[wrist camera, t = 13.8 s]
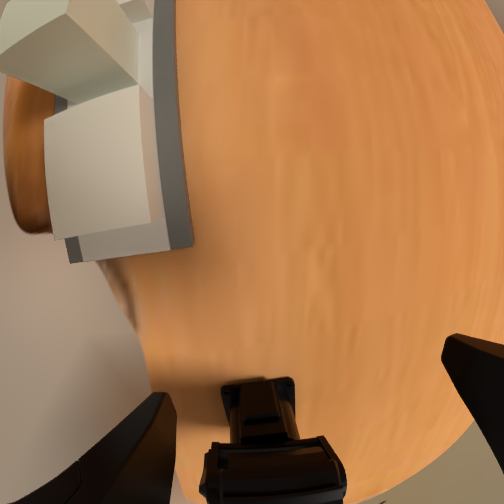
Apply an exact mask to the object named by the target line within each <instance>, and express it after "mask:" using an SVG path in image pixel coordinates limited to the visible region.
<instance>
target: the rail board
mask: <svg viewBox="0 0 504 504" xmlns="http://www.w3.org/2000/svg"><path fill="white" fill-rule="evenodd" d="M116 1H117V2H118V4H119V5H120V7H121V8H122V10H123V11H124V13H125V14H126V16H127V17H128V19H129V20H130V22H131V23H132V25H133V26H134V28H135V29H136V31H137V33H138V34H139V84H138V85H135V86H131V87H127V88H124V89H121V90H118V91H114V92H111V93H108V94H105V95H102V96H99V97H96V98H94V99H91V100H88V101H86V102H83V103H80V104H76V103H74V102H71V101H69V100H67V99H65V98H62V97H60V96H58V95H56V94H55V108H54V115H53V116H51V117H49V118H47V119H45V120H44V157H45V174H46V186H47V195H48V203H49V211H50V217H51V224H52V229H53V235H54V240H60V239H65V242H66V248H67V252H68V256H69V261H70V263H78V262H88V261H95V260H103V259H110V258H117V257H124V256H132V255H139V254H146V253H154V252H161V251H169V250H172V249H180V248H187V247H193V245H194V244H195V240H194V233H193V226H192V219H191V212H190V205H189V197H188V189H187V181H186V173H185V164H184V154H183V144H182V134H181V122H180V110H179V96H178V79H177V58H176V0H116Z"/></svg>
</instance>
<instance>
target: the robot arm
mask: <svg viewBox="0 0 504 504" xmlns="http://www.w3.org/2000/svg"><path fill="white" fill-rule="evenodd" d="M441 361H442V363H443V365H444V367H445V369H446V371H447V372H448V374H449V376H450V378H451V380H452V382H453V384H454V386H455V388H456V390H457V392H458V393H459V395H460V397H461V398H462V400H463V401H464V403H465V405H466V406H467V408H468V409H469V411H470V413H471V414H472V416H473V418H474V419H475V421H476V423H477V424H478V426H479V428H480V430H481V431H482V433H483V435H484V437H485V438H486V440H487V442H488V444H489V446H490V447H491V449H492V451H493V453H494V455H495V457H496V459H497V461H498V463H499V465H500V467H501V469H502V471H503V474H504V345H503V344H498V343H494V342H490V341H486V340H482V339H478V338H474V337H470V336H466V335H462V334H458V333H455V334H452V335H450V336H448V337H447V338H446V340H445V344H444V348H443V351H442V355H441ZM287 383H290V384H287ZM225 391H228V392H225ZM221 396H222V400H223V404H224V408H225V411H226V415H227V419H228V422H229V426H230V443H219V442H212V446H211V449H209V452H208V453H205V457H204V469H203V474H202V477H201V481H200V485H199V493H200V494H201V495H203V496H204V497H205V498H206V500H207V503H208V504H343V498H344V496H345V494H346V489H347V479H346V473H345V469H344V467H343V464H342V463H341V461H340V459H339V458H338V456H337V455H336V453H335V452H334V450H333V449H332V447H331V446H330V444H329V443H328V441H327V440H326V438H325V437H324V436H317V437H316V438H309V439H301V440H300V436H299V433H298V429H297V425H296V421H295V384H294V381H293V379H292V378H285V379H279V380H272V381H265V382H257V383H249V384H240V385H229V386H223V387H222V388H221ZM176 423H177V414H176V410H175V408H174V405H173V403H172V400H171V398H170V395H169V394H168V393H167V392H153V393H152V394H151V395H150V396H149V397H148V398H146V399H145V400H144V401H143V402H142V403H141V404H140V405H139V406H138V407H137V408H136V409H134V410H133V411H132V412H131V413H130V414H129V415H128V416H127V417H126V418H125V419H123V420H122V421H121V422H120V423H119V424H118V425H117V426H116V427H115V428H113V429H112V430H111V431H110V432H109V433H108V434H107V435H106V436H105V437H103V438H102V439H101V440H100V441H99V442H98V443H97V444H95V445H94V446H93V447H92V448H91V449H90V450H88V451H87V452H86V453H85V454H84V455H83V456H81V457H80V458H79V459H78V461H75V462H74V463H73V464H72V465H71V466H70V467H68V468H67V469H66V470H64V471H63V472H62V473H61V474H59V475H58V476H57V477H55V478H54V479H53V480H51V481H49V482H48V483H46V484H45V485H43V486H42V487H40V488H38V489H37V490H35V491H34V492H32V493H30V494H28V495H26V496H25V497H23V498H21V499H19V500H18V501H15V502H13V503H9V504H169V503H170V495H171V488H172V481H173V473H174V467H175V458H176Z"/></svg>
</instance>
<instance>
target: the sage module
mask: <svg viewBox="0 0 504 504" xmlns="http://www.w3.org/2000/svg"><path fill="white" fill-rule="evenodd" d="M0 72H2V73H4V74H7V75H9V76H12V77H15V78H17V79H20V80H22V81H25V82H27V83H30V84H32V85H34V86H37V87H39V88H42V89H44V90H46V91H49V92H51V93H53V94H56V95H58V96H60V97H62V98H65V99H67V100H69V101H71V102H74V103H76V104H80V103H83V102H86V101H88V100H91V99H94V98H96V97H99V96H102V95H105V94H108V93H111V92H114V91H118V90H121V89H124V88H127V87H131V86H135V85H138V84H139V34H138V33H137V31H136V29H135V28H134V26H133V25H132V23H131V22H130V20H129V19H128V17H127V16H126V14H125V13H124V11H123V10H122V8H121V7H120V5H119V4H118V2H117V1H116V0H11V1H10V2H8V3H7V5H6V7H5V10H4V12H3V15H2V17H1V20H0Z"/></svg>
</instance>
